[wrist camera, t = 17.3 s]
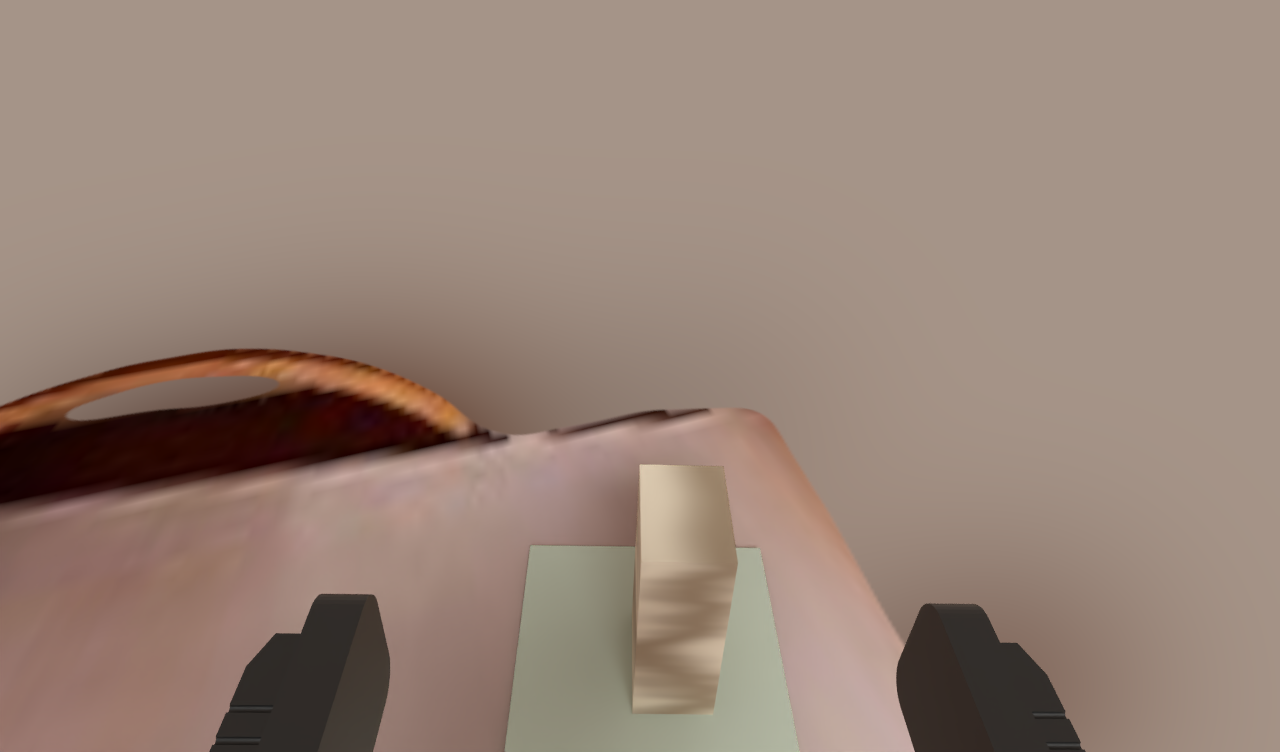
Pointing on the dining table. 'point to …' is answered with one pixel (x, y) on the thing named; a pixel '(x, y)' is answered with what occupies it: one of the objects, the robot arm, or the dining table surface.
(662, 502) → the block
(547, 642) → the mat
